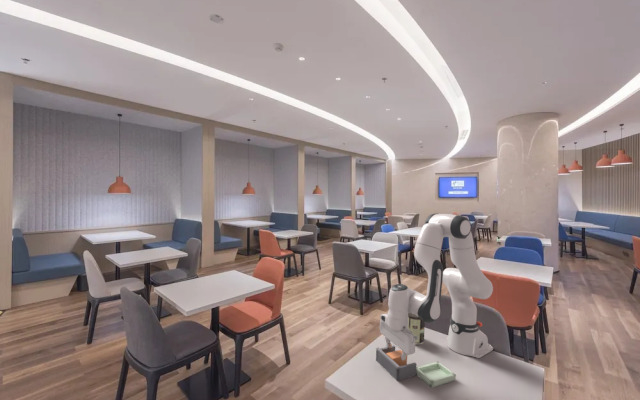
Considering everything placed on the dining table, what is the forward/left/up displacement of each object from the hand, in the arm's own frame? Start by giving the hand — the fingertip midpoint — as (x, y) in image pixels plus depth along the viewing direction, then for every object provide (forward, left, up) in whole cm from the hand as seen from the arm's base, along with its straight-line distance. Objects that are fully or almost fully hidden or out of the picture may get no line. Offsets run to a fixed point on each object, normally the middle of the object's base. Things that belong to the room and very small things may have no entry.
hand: (395, 353), depth 122 cm
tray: (-12, +11, -6) cm, 18 cm away
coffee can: (-25, -16, -7) cm, 31 cm away
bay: (0, 0, -6) cm, 6 cm away
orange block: (-1, 0, -7) cm, 7 cm away
